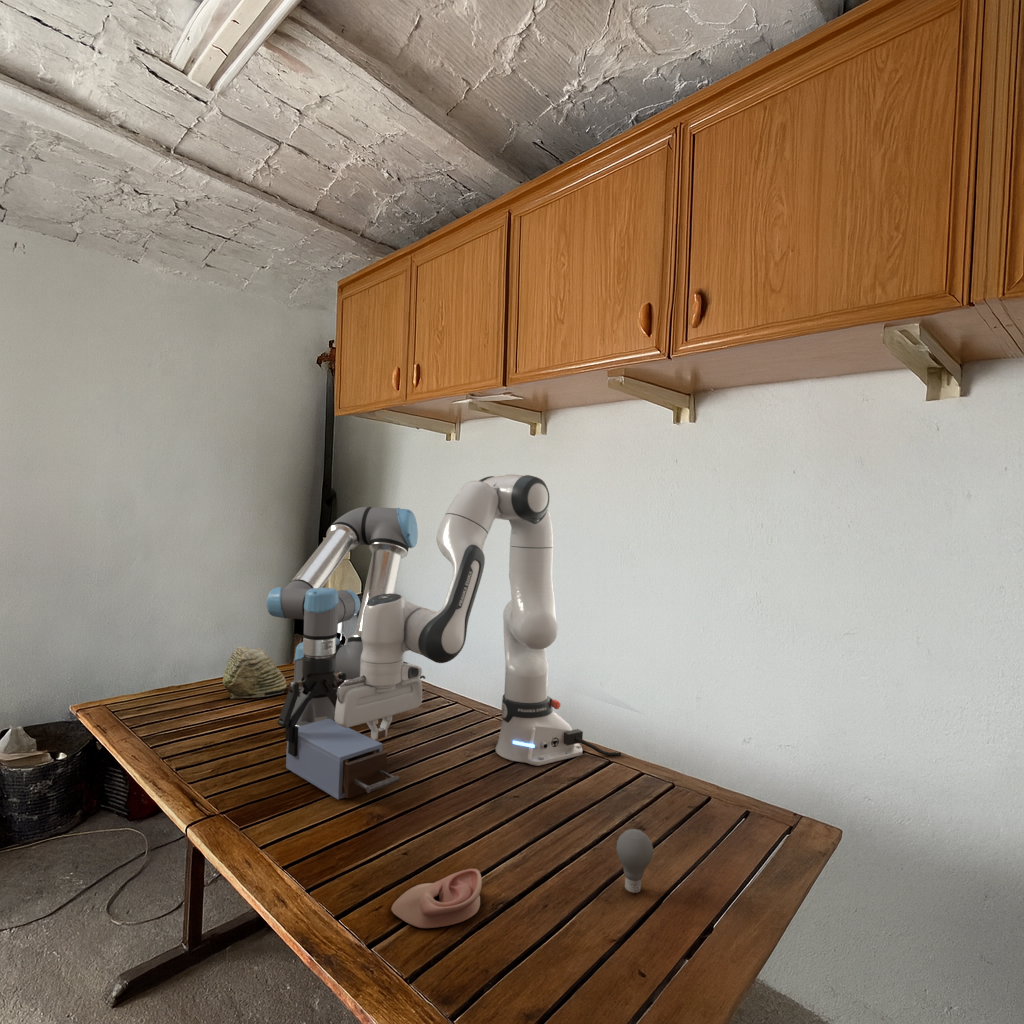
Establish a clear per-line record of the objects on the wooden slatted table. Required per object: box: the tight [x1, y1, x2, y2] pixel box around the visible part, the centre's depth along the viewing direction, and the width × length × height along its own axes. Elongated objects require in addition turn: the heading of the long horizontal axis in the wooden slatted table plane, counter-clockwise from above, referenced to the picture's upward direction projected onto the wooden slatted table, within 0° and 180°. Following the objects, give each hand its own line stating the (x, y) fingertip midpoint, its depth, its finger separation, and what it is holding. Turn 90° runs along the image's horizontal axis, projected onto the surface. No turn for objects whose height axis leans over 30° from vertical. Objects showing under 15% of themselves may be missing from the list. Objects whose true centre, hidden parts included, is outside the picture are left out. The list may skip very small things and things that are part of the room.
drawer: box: [342, 750, 400, 799], centre depth 140 cm, size 26×10×7 cm, turn 49°
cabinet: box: [285, 719, 384, 801], centre depth 144 cm, size 21×11×9 cm, turn 49°
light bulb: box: [615, 828, 654, 894], centre depth 106 cm, size 6×6×10 cm
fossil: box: [222, 646, 288, 699], centre depth 198 cm, size 9×18×15 cm, turn 132°
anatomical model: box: [391, 868, 483, 929], centre depth 99 cm, size 13×4×12 cm
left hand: (315, 747), depth 149 cm, fingers closed on cabinet, 11 cm apart
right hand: (378, 737), depth 133 cm, fingers closed
